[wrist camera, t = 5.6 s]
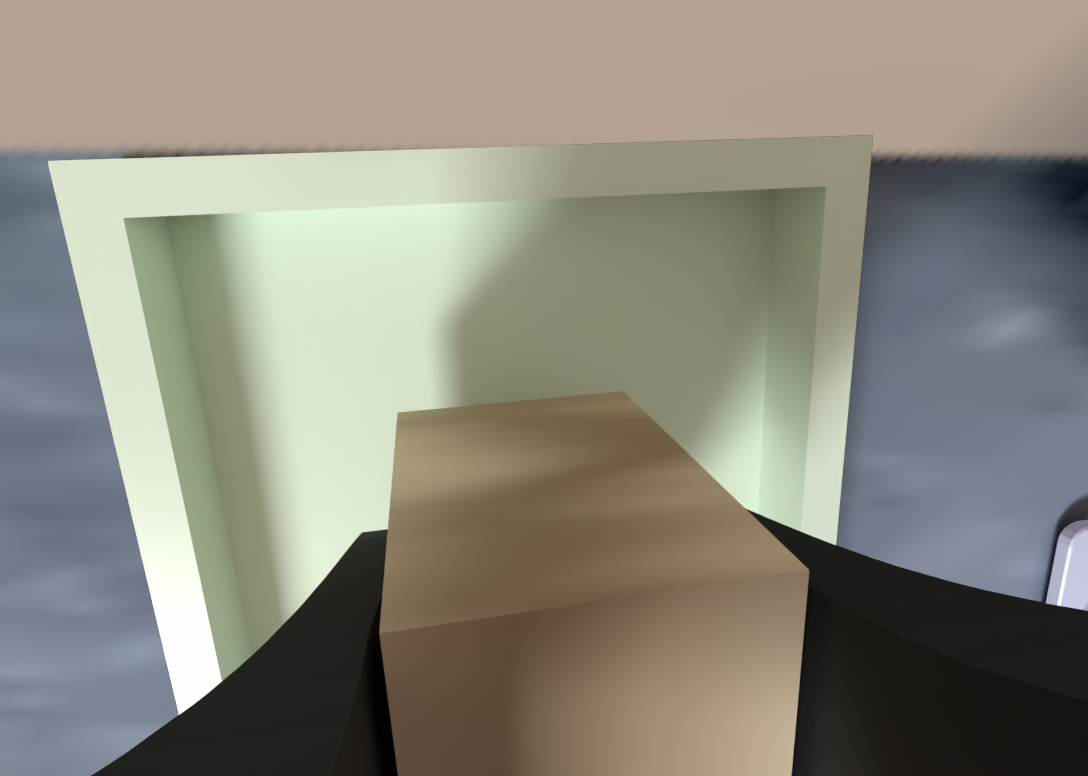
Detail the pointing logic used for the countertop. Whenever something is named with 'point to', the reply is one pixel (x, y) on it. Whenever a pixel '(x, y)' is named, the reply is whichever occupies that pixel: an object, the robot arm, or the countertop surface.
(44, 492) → the countertop surface
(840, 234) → the tray
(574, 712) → the block
